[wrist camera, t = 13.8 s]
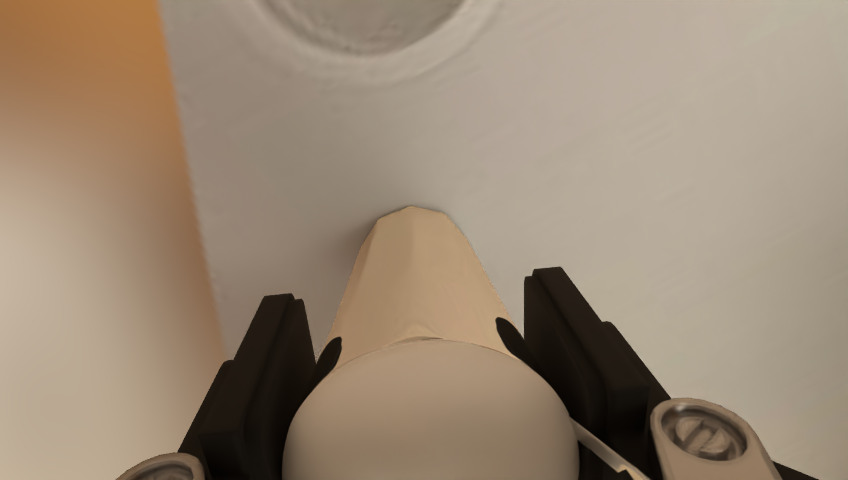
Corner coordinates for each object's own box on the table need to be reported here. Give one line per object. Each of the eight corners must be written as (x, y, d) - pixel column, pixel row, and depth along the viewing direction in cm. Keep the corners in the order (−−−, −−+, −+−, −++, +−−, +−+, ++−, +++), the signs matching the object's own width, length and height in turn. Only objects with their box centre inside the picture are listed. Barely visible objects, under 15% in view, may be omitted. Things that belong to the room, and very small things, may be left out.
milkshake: (532, 281, 16) (729, 641, 6) (376, 339, 16) (347, 747, 7) (486, 149, 14) (664, 377, 5) (313, 218, 14) (164, 545, 5)
